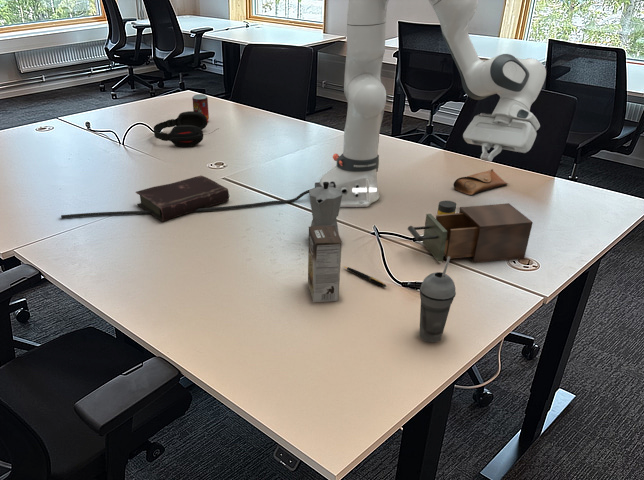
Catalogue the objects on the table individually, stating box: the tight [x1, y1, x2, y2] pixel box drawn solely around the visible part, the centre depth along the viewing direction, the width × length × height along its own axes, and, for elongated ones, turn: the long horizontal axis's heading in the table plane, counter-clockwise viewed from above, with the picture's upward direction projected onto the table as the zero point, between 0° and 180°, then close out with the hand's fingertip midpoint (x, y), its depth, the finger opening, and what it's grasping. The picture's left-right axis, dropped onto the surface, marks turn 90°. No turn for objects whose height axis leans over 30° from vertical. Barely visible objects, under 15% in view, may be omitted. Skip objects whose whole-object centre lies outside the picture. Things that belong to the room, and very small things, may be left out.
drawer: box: [407, 212, 479, 263], centre depth 157 cm, size 19×11×9 cm, turn 97°
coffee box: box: [307, 225, 343, 303], centre depth 140 cm, size 9×6×16 cm
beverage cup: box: [419, 256, 457, 344], centre depth 123 cm, size 7×7×20 cm
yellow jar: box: [436, 200, 458, 215], centre depth 173 cm, size 5×5×7 cm
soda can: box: [191, 93, 210, 121], centre depth 275 cm, size 7×7×12 cm
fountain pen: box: [344, 266, 387, 288], centre depth 150 cm, size 14×1×2 cm, turn 41°
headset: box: [153, 110, 218, 148], centre depth 253 cm, size 28×26×9 cm
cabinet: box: [458, 202, 534, 264], centre depth 158 cm, size 14×13×11 cm
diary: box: [135, 175, 230, 222], centre depth 193 cm, size 19×25×5 cm
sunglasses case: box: [453, 168, 508, 196], centre depth 199 cm, size 18×7×7 cm, turn 120°
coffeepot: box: [308, 181, 343, 241], centre depth 164 cm, size 15×9×18 cm, turn 159°
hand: (485, 160), depth 167 cm, fingers closed
